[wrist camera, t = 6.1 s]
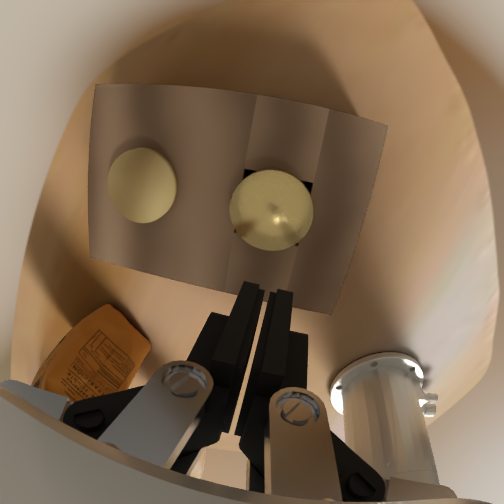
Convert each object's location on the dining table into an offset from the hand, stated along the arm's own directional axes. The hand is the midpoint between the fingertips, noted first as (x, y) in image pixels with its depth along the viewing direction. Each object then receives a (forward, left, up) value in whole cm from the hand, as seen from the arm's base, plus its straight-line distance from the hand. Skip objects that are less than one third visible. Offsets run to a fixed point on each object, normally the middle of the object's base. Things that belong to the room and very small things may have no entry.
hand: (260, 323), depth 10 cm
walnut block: (+5, -1, -19) cm, 19 cm away
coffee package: (+19, +23, -19) cm, 35 cm away
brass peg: (+1, -1, -18) cm, 18 cm away
